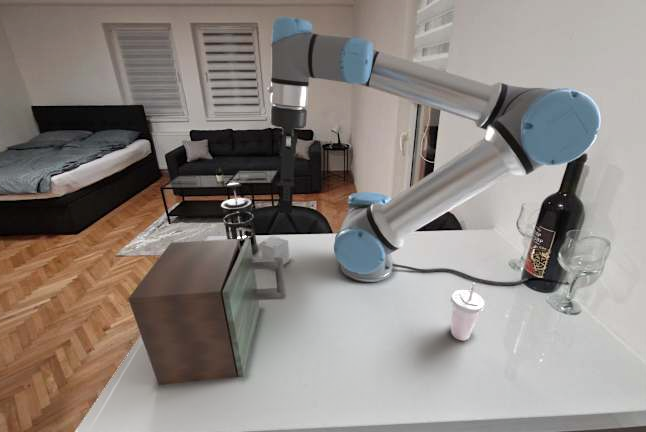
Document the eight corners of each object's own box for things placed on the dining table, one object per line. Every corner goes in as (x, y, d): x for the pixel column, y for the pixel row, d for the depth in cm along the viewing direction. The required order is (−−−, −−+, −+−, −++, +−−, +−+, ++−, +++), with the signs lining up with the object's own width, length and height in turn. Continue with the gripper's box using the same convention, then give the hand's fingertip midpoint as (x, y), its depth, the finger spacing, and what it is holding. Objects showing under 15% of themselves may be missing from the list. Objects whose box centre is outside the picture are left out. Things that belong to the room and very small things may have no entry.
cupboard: (250, 311, 73) (239, 238, 65) (237, 377, 57) (220, 291, 49) (189, 316, 72) (170, 242, 64) (158, 385, 56) (127, 298, 47)
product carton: (290, 261, 94) (288, 240, 91) (276, 270, 89) (274, 248, 86) (275, 255, 97) (273, 235, 94) (261, 264, 92) (259, 243, 89)
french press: (251, 260, 94) (241, 190, 85) (222, 258, 95) (209, 189, 86) (263, 242, 105) (256, 178, 95) (237, 240, 106) (227, 177, 96)
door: (288, 309, 74) (282, 237, 66) (280, 374, 57) (271, 290, 49) (255, 310, 73) (245, 239, 65) (238, 376, 57) (222, 292, 49)
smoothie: (461, 349, 63) (473, 295, 57) (438, 329, 68) (447, 277, 62) (482, 338, 65) (496, 285, 60) (458, 319, 71) (469, 269, 65)
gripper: (272, 98, 73) (271, 181, 82) (267, 113, 51) (266, 224, 60) (303, 101, 75) (298, 182, 84) (311, 117, 53) (304, 225, 62)
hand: (285, 200), depth 72 cm, fingers open, 13 cm apart
